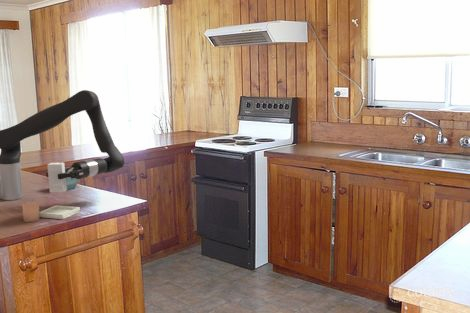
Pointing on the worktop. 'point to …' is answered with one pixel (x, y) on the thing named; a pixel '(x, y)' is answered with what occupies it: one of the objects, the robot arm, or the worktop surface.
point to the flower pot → (71, 183)
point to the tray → (59, 212)
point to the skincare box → (56, 177)
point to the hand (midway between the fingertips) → (52, 175)
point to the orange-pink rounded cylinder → (31, 211)
